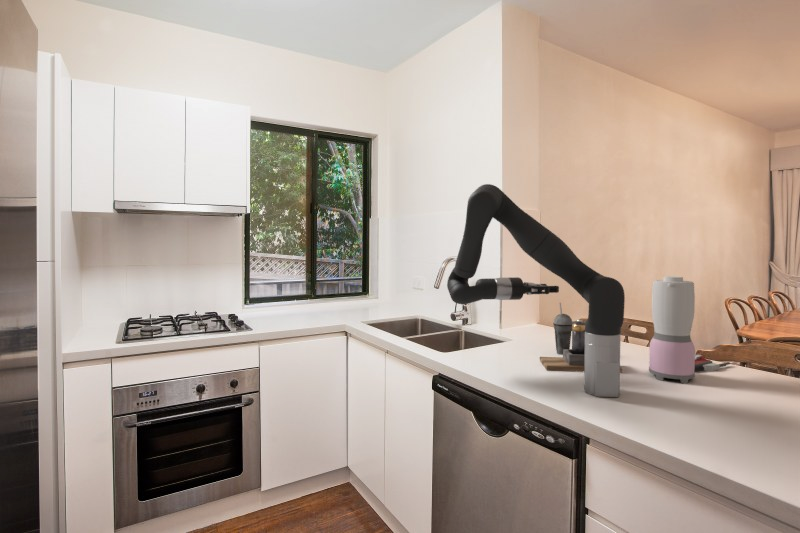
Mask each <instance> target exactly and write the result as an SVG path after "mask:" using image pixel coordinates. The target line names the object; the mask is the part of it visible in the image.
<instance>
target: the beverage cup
mask: <svg viewBox="0 0 800 533" xmlns="http://www.w3.org/2000/svg"><path fill="white" fill-rule="evenodd" d="M559 310H560V313H559V314H557V315H556V316H555V317H554V318H553V319H554V320H553V328H554V329H553V330H554V339H555V349H556V350H555V351H556V354H557V355H562V356H563V349H571V341H572V322H573V320H572V318H571V316H570V315H568V314H566V313H563V311H562V303H561V302H559Z"/></svg>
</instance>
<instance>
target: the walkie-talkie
mask: <svg viewBox="0 0 800 533" xmlns="http://www.w3.org/2000/svg"><path fill="white" fill-rule="evenodd" d="M728 365H731V361H730V362H729V361H727V362H724V363H715V362H713V360H710V359H707V358H705V355H701V354H698V353H697V354H696V353H695V368H694V373H697V372H701V371H703V372H716V371H719V370H720V368H723V367H726V366H728Z"/></svg>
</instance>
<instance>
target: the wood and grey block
mask: <svg viewBox="0 0 800 533" xmlns="http://www.w3.org/2000/svg"><path fill="white" fill-rule="evenodd" d="M584 356H585V355H581V354H572V348H570V349H563V355H562V357H560V356H559V357H557V356H556V357H555V356H539V362H540V363H541V364H542V366H543V367H544V368H545V370H546V371H551V372H552V371H554V372H555V371H557V372H560V371H561V372H583V371H584ZM620 374H623V368H622V367H621V366H620Z"/></svg>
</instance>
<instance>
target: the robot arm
mask: <svg viewBox="0 0 800 533" xmlns="http://www.w3.org/2000/svg"><path fill="white" fill-rule="evenodd" d="M466 205H467V206H466V217H465V224H464V231H463V236H462V240H461V243H460V246H459V251H458V254H457V256H456V257H457V258H456V260H455V264H454V267H453V268H452V270H451V273H450V274H449V276H448V279H447V282H446V283H447V284H446V286H447V290H448V293H449V296H450V298H451V300H452V302H453V303H455V304H457V305H468V304H471V303H475V302H479V301H483V300H498V301H512V300H513V301H517V300H518V301H519V300H521V299H522V298H523V296H524V295H529V296H531V295H549V294H550V293H551V294H553V293H554V294H555V293H556V294H557V293H559V291H560V290H559V289H560V286H559V285H547V283H535V282H529V281H528V282H526V281H524V282H523V280H522V278H521V277H517V276H516V277H496V278H479V279H477V280H476V281H475V283H474V285H470V284H469V279H472V278H473V277H474V276H475V275H476V272H477V270H478V266H479V263H480V260H481V257H482V251H483V242H484V238H485V235H486V232H487V230H488V228H489V226H490V224H491V222H492V220H493V219H494V220H496V221H497V222H499V224H500V225H502V226H503V227H504V228H505V229H506V230H508V232H509V233H510V235H511V236H512V238H513V240H515V242H516V243H517V244H518V246H519V248H521V250H522V251H523V252H524V253H525V254H526V255H528V256H529V257H530V258H532V259H533V260H534V261H535V262H537V263H538V264H539V265H541V266H542V267H543V268H545V269H547V270H548V271H549V272H550V273H553V275H556V276H557V277H559V278H561V279H562V280H564V281H565V283H567V284H568V285H570V286H571V287H572V288H573V289H574V290H575V291H576V292H577V294H579V295H580V296H581V297H582V298H583V300H584V301H585V302H587V304H588V314H587V315H588V317H587V319H586V321H584V322H585V356H584V372H583V377H584V378H583V379H584V380H583V381H584V382H583V389H584V391H585V392H586V393H588V394H590V395H592V396H595V397H600V398H601V397H603V398H620V394H621V388H620V386H621V373H620V367H621V335H622V332H621V329H622V326H623V324H624V321H625V320H624V318H625V302H626V300H625V290H624V287H623V285H622V284H621V283H620V281H618V280H617V279H615V278H613V277H609V276H605V275H604V274H603V275H602V274H600V273H599V272H597V271H596V270H594V269H593V268H591V267H590V266H588V265H587V264H586V263H584V262H583V261H581V260H580V259H579V257H578V256H577V255H576V253H575V252H573V250H572V249H571V248H570V247H569V246H568V245H567V244H566V243H565V242H564V241H563V240H562V239H561V238H560V237H559V236H558V235H556V234H555V233H554V232H553V231H551V230H550V229H548V228H547V227H545V225H543V224H541V222H539V221H537V219H535V218H534V217H532V215H530V214H528V213H527V212H525V211H524V210H523V209H521V208H520V207H519V206H518V205H517V204H516V203H515V202H514V201H513V200H512V199H511V198H509V196H508V195H507V194H505V192H504V191H503V190H502V189H501V188H499V187H498V186H496V185H494V184H490V183H485V184H481V185H480V186H478V187H477V188H476V189H475V190H474V191H473V192H472V193H470V196H469V197H468V200H467V204H466Z"/></svg>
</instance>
